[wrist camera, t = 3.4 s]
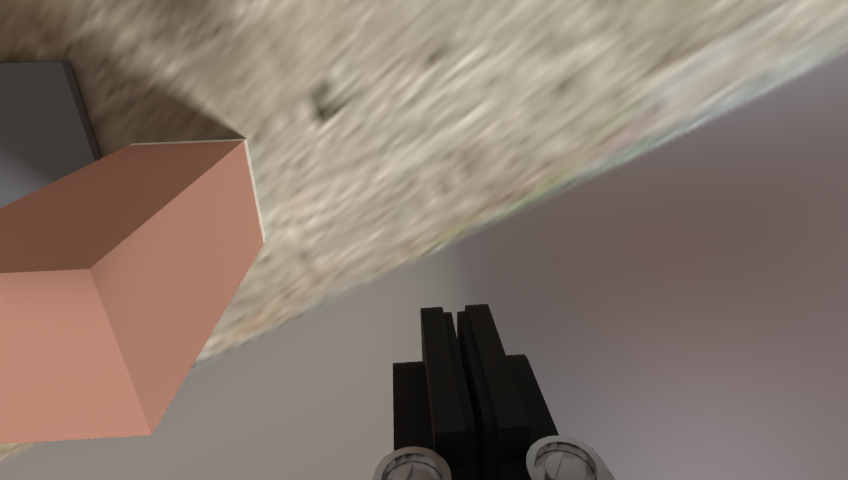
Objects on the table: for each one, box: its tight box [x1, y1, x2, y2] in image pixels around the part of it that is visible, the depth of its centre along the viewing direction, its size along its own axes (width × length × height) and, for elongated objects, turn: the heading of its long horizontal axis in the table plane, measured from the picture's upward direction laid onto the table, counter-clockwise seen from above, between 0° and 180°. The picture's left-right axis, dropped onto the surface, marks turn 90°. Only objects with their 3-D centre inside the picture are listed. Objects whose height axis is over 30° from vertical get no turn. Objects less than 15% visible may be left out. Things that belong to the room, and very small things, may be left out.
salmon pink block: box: [0, 139, 266, 444], centre depth 17 cm, size 5×5×12 cm
